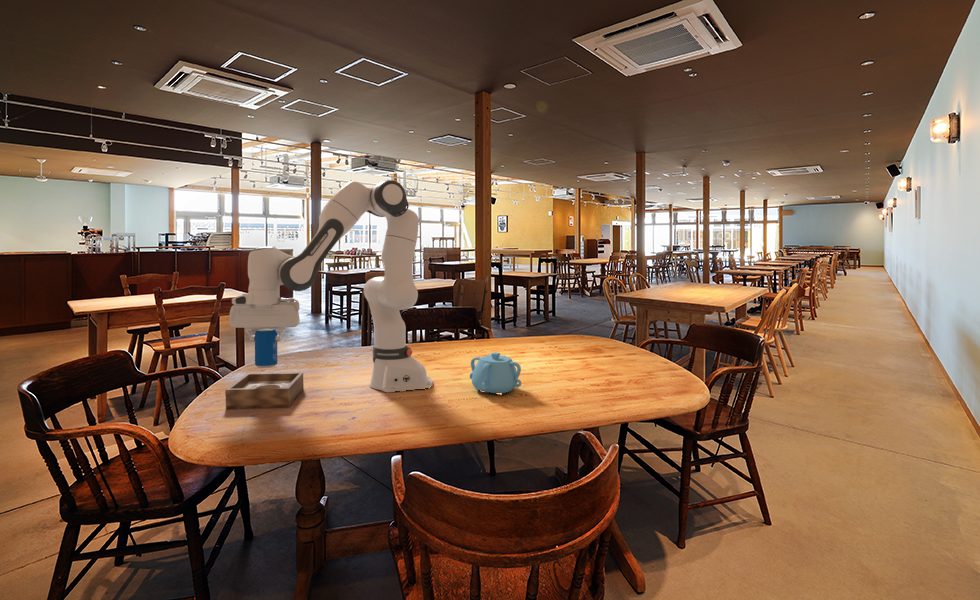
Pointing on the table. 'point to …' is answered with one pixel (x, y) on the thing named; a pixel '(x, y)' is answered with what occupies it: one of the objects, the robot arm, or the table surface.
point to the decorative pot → (495, 373)
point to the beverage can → (265, 348)
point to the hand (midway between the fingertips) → (265, 341)
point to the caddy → (264, 390)
